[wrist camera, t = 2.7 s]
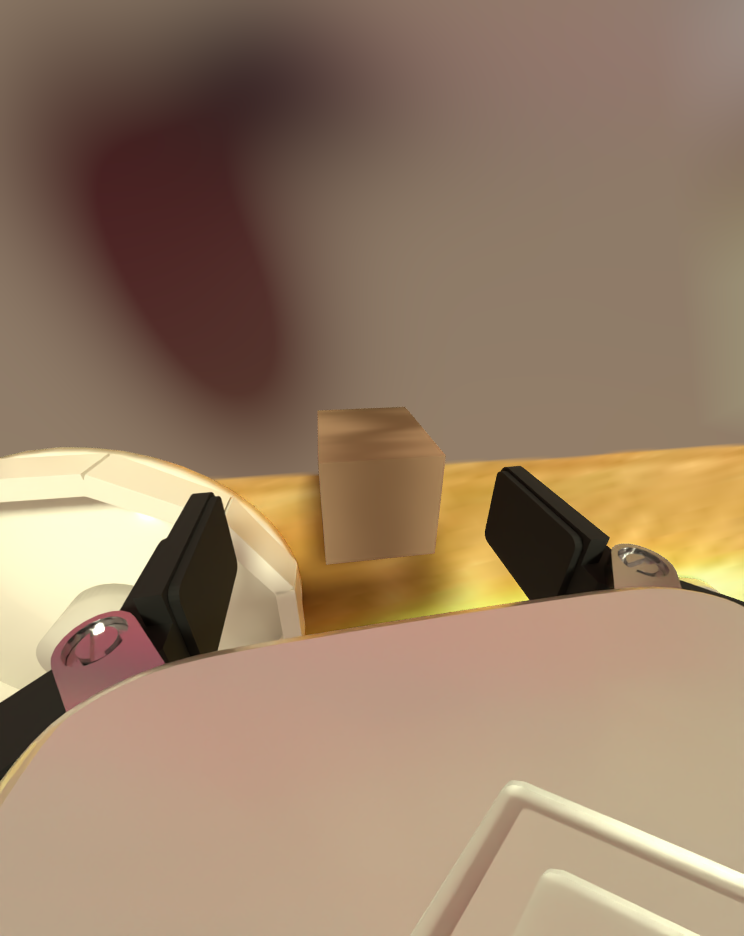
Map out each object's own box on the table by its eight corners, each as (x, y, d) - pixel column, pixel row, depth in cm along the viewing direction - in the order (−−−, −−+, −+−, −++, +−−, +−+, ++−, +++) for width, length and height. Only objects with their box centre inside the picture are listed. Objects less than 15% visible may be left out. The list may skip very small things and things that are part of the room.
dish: (282, 435, 16) (275, 467, 13) (314, 677, 25) (313, 729, 22) (-209, 461, 14) (-362, 507, 11) (21, 721, 23) (-25, 787, 20)
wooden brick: (404, 406, 17) (445, 455, 11) (401, 482, 19) (434, 553, 13) (317, 410, 16) (318, 463, 11) (323, 487, 18) (325, 564, 13)
